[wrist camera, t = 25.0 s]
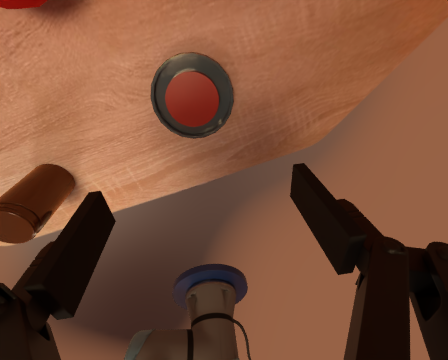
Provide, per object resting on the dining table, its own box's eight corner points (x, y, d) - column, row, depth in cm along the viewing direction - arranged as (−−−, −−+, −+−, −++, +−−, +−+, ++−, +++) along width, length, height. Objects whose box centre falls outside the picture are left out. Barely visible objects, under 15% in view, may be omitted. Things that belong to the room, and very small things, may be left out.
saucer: (234, 130, 36) (235, 133, 35) (163, 138, 36) (162, 142, 35) (229, 48, 30) (230, 48, 29) (142, 57, 29) (140, 58, 28)
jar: (83, 185, 39) (47, 233, 30) (55, 199, 40) (11, 250, 31) (53, 157, 36) (1, 201, 26) (23, 173, 37) (-37, 221, 27)
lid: (192, 57, 30) (192, 58, 28) (228, 99, 33) (229, 102, 32) (155, 96, 32) (153, 99, 30) (193, 132, 35) (192, 136, 34)
